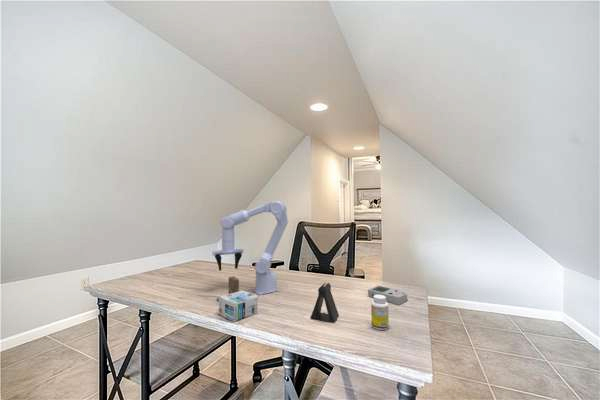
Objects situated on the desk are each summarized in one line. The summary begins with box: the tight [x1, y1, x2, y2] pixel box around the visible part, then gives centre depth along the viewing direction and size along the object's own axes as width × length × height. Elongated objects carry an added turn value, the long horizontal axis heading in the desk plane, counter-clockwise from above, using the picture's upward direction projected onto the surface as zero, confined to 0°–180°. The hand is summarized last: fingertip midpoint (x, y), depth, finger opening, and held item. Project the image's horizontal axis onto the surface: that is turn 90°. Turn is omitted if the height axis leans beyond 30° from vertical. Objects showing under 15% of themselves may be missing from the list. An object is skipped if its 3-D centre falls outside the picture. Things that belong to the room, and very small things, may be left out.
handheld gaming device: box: [367, 285, 408, 306], centre depth 117 cm, size 9×15×4 cm, turn 43°
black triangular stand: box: [310, 282, 339, 324], centre depth 97 cm, size 9×6×12 cm, turn 67°
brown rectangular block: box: [228, 276, 240, 294], centre depth 115 cm, size 2×6×9 cm, turn 33°
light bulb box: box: [218, 290, 259, 322], centre depth 101 cm, size 11×7×11 cm
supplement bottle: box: [370, 295, 390, 331], centre depth 89 cm, size 6×6×10 cm
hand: (228, 269), depth 128 cm, fingers open, 7 cm apart
